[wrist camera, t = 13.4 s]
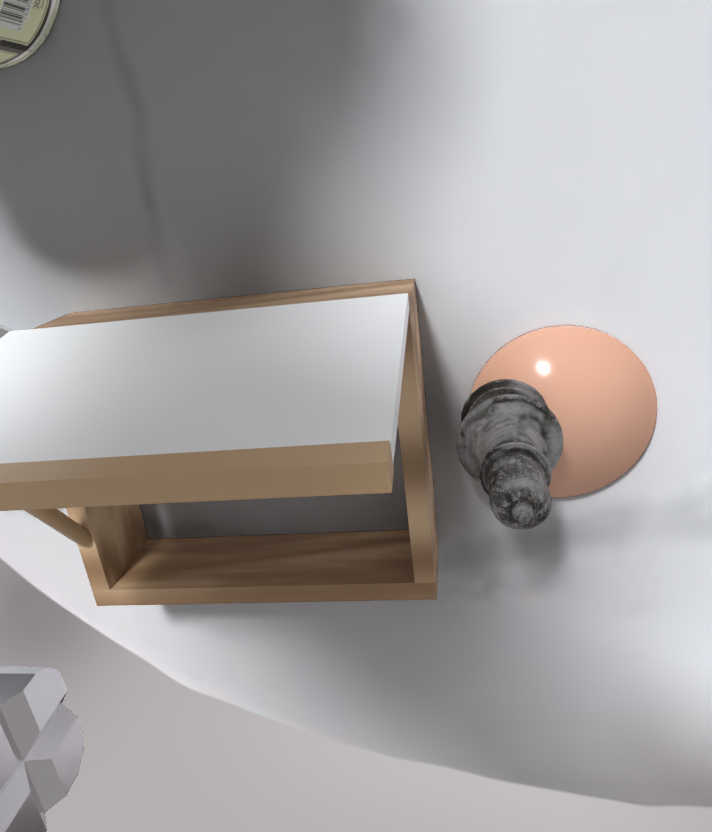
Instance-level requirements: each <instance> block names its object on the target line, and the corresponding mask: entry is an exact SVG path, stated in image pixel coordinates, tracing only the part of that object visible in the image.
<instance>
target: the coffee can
mask: <svg viewBox="0 0 712 832" xmlns="http://www.w3.org/2000/svg"><path fill="white" fill-rule="evenodd" d="M59 3H60V0H0V69H1V68H5V67H10V66H12V65H15V64H17V63H19V62H21V61H23V60H25V59H26V58H28V57H29V56H30V55H32V54H33V53H34V52H35V51H36V50H37V49H38V48H39V47H40V46H41V44H42V43H43V42H44V40H45V39H46V37H47V36H48V35H49V33H50V30H51V28H52V26H53V23H54V20H55V18H56V15H57V12H58V8H59Z"/></svg>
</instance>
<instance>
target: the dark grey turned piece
mask: <svg viewBox="0 0 712 832" xmlns="http://www.w3.org/2000/svg"><path fill="white" fill-rule="evenodd" d="M563 441H564V439H563V433H562V428H561V425H560V424H559V422H558V420H557V418H556V416H555V414H554V413H553V412H552V411H551V410H550V409H549V408H548V406H547V404H546V402H545V400H544V398H543V396H542V395H541V394H540V393H539V392H538V391H537V390H536V389H535V388H533V387H532V386H530V385H528V384H527V383H525V382H521V381H518V380H514V379H500V380H495V381H491V382H488V383H486V384H484V385H482V386H480V387H479V388H478V389H477V390H475V391H474V392H473V393H472V394H471V395H470V397H469V398H468V400H467V401H466V402H465V405H464V408H463V410H462V414H461V425H460V428H459V431H458V434H457V452H458V456H459V460H460V462H461V463H462V465H463V467H464V468H465V470H466V471H467V472H468V473H469V474H470V475H471V476H472V477H473V478H474V479H475V480H477V481H478V482H480V483H481V485H482V487H483V489H484V490H485V492H486V493H487V494H488V495H489V501H490V506H491V510H492V511H493V513H494V515H495V516H496V518H497V519H498V520H499V521H500V522H501V523H502V524H504V525H506V526H508V527H510V528H514V529H530V528H533V527H535V526H538V525H539V524H540V523H542V522H543V521H544V520H545V519H546V517H547V516H548V514H549V512H550V509H551V495H550V491H549V485H550V483H551V477H552V470H553V469H554V468H555V466H556V465H557V464H558V461H559V459H560V456H561V454H562V451H563Z"/></svg>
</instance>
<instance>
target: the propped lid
mask: <svg viewBox="0 0 712 832" xmlns="http://www.w3.org/2000/svg"><path fill="white" fill-rule="evenodd" d="M408 317H409V300H408V293H403V294H393V295H382V296H372V297H362V298H351V299H341V300H330V301H320V302H310V303H299V304H289V305H278V306H268V307H258V308H247V309H237V310H226V311H216V312H205V313H195V314H185V315H174V316H164V317H153V318H143V319H133V320H122V321H112V322H101V323H91V324H81V325H70V326H60V327H49V328H39V329H29V330H18V331H9V332H8V333H7V334H5V335H4V336H3V337H1V338H0V511H8V510H25V511H27V512H28V513H30V514H31V515H33V516H34V517H36V518H38V519H39V520H41V521H42V522H44V523H45V524H47V525H49V526H50V527H52V528H53V529H55V530H56V531H58V532H60V533H61V534H63V535H64V536H66V537H67V538H69V539H71V540H72V541H74V542H75V543H77V544H78V545H80V546H82V547H87V546H89V545H91V544H92V542H93V539H92V536H91V534H90V533H89V531H88V530H87V529H86V528H84V527H83V526H81V525H80V524H78V523H77V522H75V521H74V520H72V519H71V518H70V517H68V516H67V515H65V514H64V513H62V512H61V511H59V510H58V509H56V508H73V507H95V506H116V505H138V504H160V503H182V502H203V501H225V500H247V499H268V498H290V497H312V496H333V495H355V494H377V493H392V485H393V475H394V467H393V464H394V454H395V444H396V435H397V425H398V415H399V405H400V395H401V386H402V376H403V366H404V356H405V347H406V337H407V327H408Z"/></svg>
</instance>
